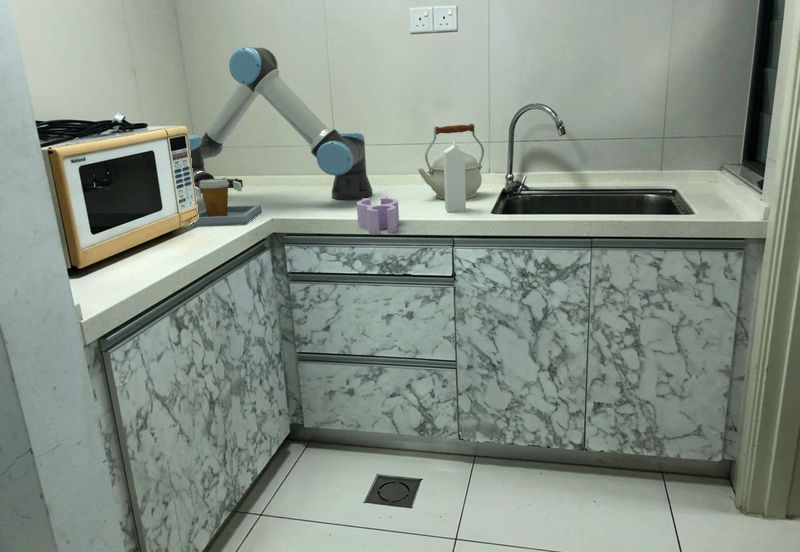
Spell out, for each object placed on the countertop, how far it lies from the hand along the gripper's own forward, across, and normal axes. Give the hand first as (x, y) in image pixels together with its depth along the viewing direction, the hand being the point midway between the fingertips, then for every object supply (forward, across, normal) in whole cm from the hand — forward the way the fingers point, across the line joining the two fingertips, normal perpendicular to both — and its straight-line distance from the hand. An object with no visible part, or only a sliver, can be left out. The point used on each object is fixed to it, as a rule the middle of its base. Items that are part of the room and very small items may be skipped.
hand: (220, 190), depth 216 cm
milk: (+44, -63, -10) cm, 77 cm away
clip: (+46, -34, -10) cm, 58 cm away
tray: (+2, 0, -9) cm, 10 cm away
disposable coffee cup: (+1, +2, -9) cm, 9 cm away
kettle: (+25, -75, -10) cm, 80 cm away
